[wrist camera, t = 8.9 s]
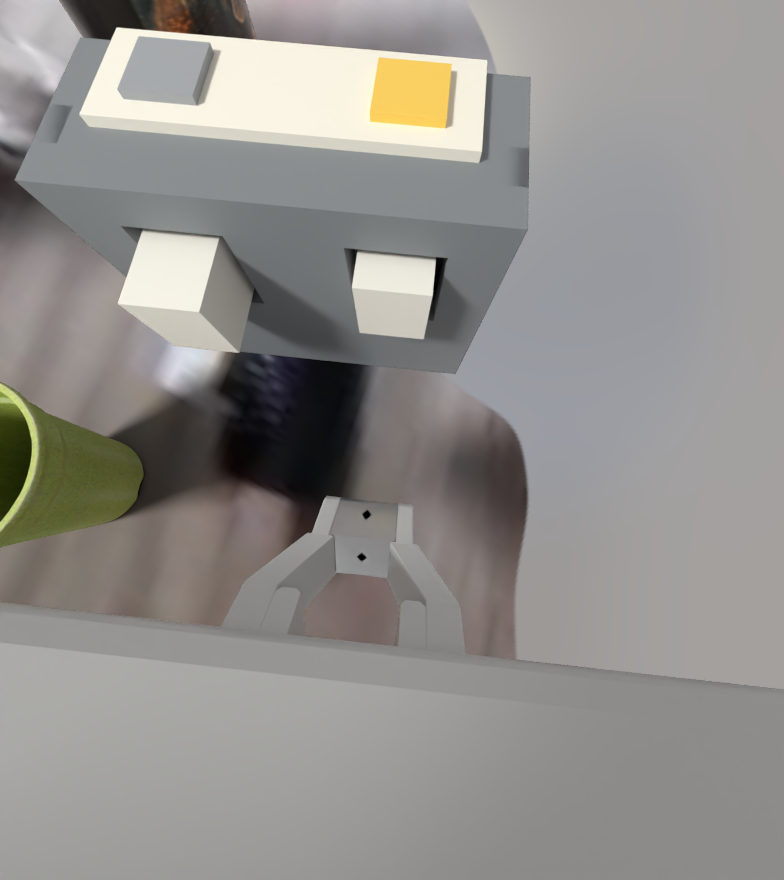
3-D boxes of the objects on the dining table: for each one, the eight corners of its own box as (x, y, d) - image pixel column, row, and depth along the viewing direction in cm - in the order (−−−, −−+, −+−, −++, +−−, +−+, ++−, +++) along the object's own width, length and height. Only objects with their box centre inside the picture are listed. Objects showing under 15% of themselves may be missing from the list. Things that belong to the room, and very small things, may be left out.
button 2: (423, 339, 17) (432, 295, 13) (359, 332, 17) (351, 288, 13) (430, 263, 18) (440, 204, 14) (370, 257, 18) (366, 197, 14)
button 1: (239, 352, 17) (199, 312, 13) (174, 345, 17) (117, 303, 13) (257, 274, 18) (224, 217, 14) (196, 268, 18) (149, 210, 14)
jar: (155, 192, 28) (-106, -156, 13) (163, 97, 30) (-51, -286, 16) (285, 183, 28) (170, -167, 13) (282, 90, 31) (183, -292, 16)
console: (455, 374, 24) (536, 212, 11) (208, 348, 25) (-9, 160, 11) (461, 287, 26) (537, 54, 13) (230, 264, 26) (63, 12, 13)
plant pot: (193, 490, 22) (73, 482, 14) (76, 579, 21) (-138, 631, 12) (128, 397, 24) (-17, 337, 15) (14, 474, 22) (-215, 456, 14)
